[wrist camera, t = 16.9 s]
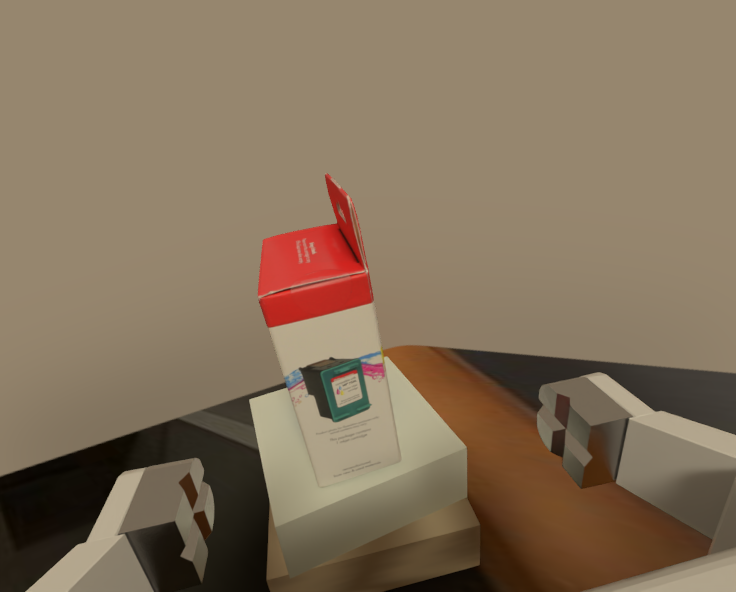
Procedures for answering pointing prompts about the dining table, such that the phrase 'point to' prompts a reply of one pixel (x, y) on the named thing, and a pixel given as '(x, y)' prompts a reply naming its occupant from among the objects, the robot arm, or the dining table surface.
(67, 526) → the dining table surface
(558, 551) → the dining table surface
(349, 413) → the ink box
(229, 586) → the dining table surface
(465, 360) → the dining table surface
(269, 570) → the maple base block
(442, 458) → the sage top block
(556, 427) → the robot arm
